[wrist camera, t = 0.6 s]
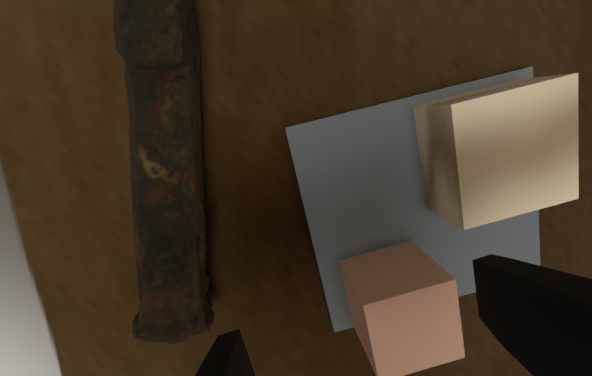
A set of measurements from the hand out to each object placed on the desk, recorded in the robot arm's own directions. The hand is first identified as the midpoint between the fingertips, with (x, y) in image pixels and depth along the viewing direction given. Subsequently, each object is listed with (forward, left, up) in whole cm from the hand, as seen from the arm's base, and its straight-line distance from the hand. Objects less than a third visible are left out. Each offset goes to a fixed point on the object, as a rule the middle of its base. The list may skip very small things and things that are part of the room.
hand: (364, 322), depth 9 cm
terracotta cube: (-5, -3, -9) cm, 11 cm away
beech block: (+2, -10, -9) cm, 13 cm away
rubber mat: (-1, -7, -10) cm, 12 cm away
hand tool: (+6, +6, -10) cm, 13 cm away
